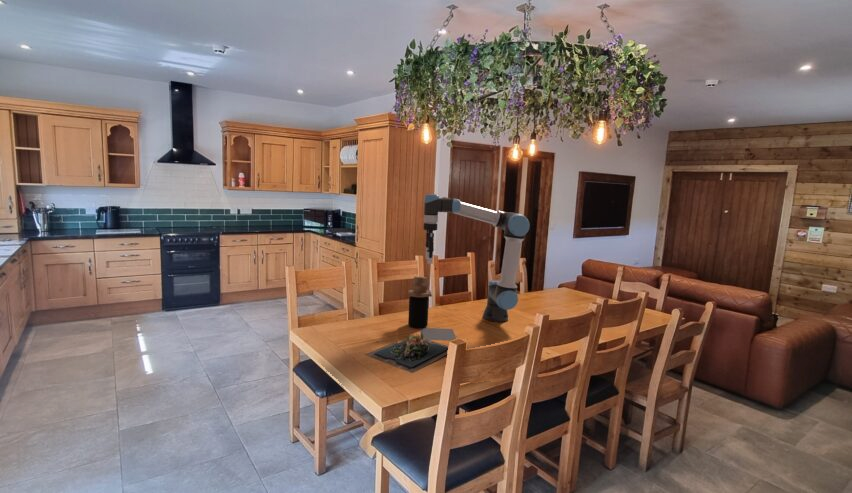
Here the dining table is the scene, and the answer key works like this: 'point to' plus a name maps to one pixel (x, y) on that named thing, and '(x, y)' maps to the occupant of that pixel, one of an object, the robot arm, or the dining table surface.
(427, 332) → the mat
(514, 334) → the dining table surface
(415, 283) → the lid
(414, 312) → the coffee jar
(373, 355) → the plated dish
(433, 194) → the robot arm
